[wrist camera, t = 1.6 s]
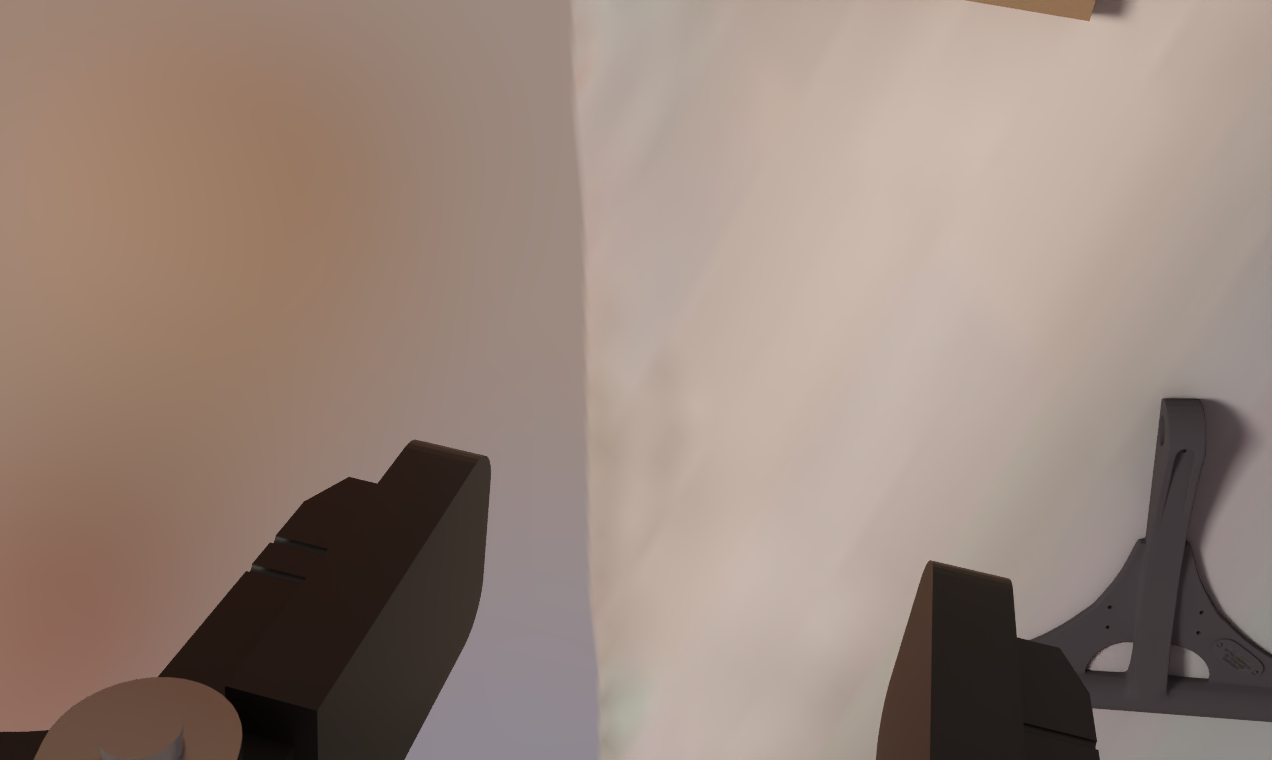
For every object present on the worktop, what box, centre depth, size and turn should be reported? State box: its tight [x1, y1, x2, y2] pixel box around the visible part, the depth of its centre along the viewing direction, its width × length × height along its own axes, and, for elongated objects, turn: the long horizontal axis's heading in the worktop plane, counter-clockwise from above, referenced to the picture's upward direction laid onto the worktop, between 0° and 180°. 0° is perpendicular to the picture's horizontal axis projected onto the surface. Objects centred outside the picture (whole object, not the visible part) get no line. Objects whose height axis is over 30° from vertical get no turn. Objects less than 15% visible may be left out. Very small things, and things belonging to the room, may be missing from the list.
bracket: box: [1029, 399, 1272, 722], centre depth 47 cm, size 14×15×3 cm
